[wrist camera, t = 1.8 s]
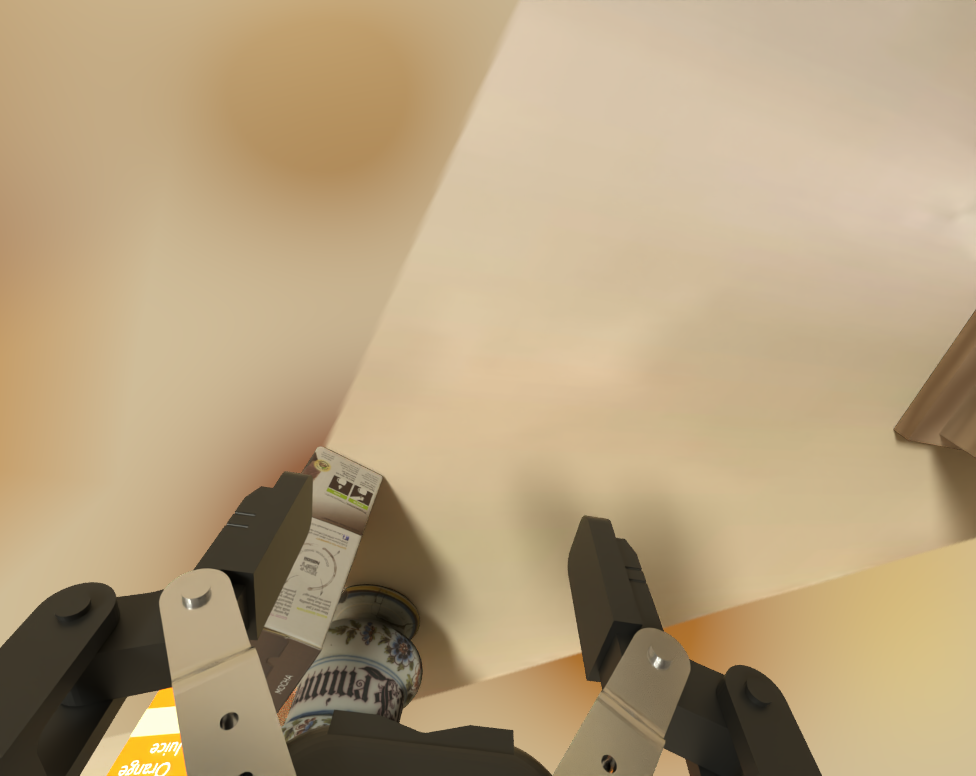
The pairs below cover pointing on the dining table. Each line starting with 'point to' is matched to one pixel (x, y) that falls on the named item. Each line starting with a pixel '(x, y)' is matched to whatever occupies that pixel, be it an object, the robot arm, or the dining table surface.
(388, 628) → the apothecary jar
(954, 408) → the stand
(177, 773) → the orange juice
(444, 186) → the dining table surface
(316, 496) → the coffee box
